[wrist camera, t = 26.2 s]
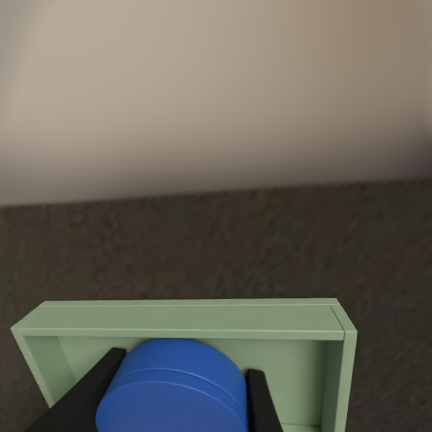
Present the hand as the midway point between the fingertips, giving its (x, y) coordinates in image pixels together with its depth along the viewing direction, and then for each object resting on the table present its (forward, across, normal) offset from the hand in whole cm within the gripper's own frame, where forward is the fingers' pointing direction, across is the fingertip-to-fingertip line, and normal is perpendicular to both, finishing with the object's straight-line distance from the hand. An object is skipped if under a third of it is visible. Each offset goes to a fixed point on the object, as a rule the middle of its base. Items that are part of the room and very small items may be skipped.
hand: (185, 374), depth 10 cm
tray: (+1, 0, 0) cm, 1 cm away
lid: (-2, 0, 0) cm, 2 cm away
